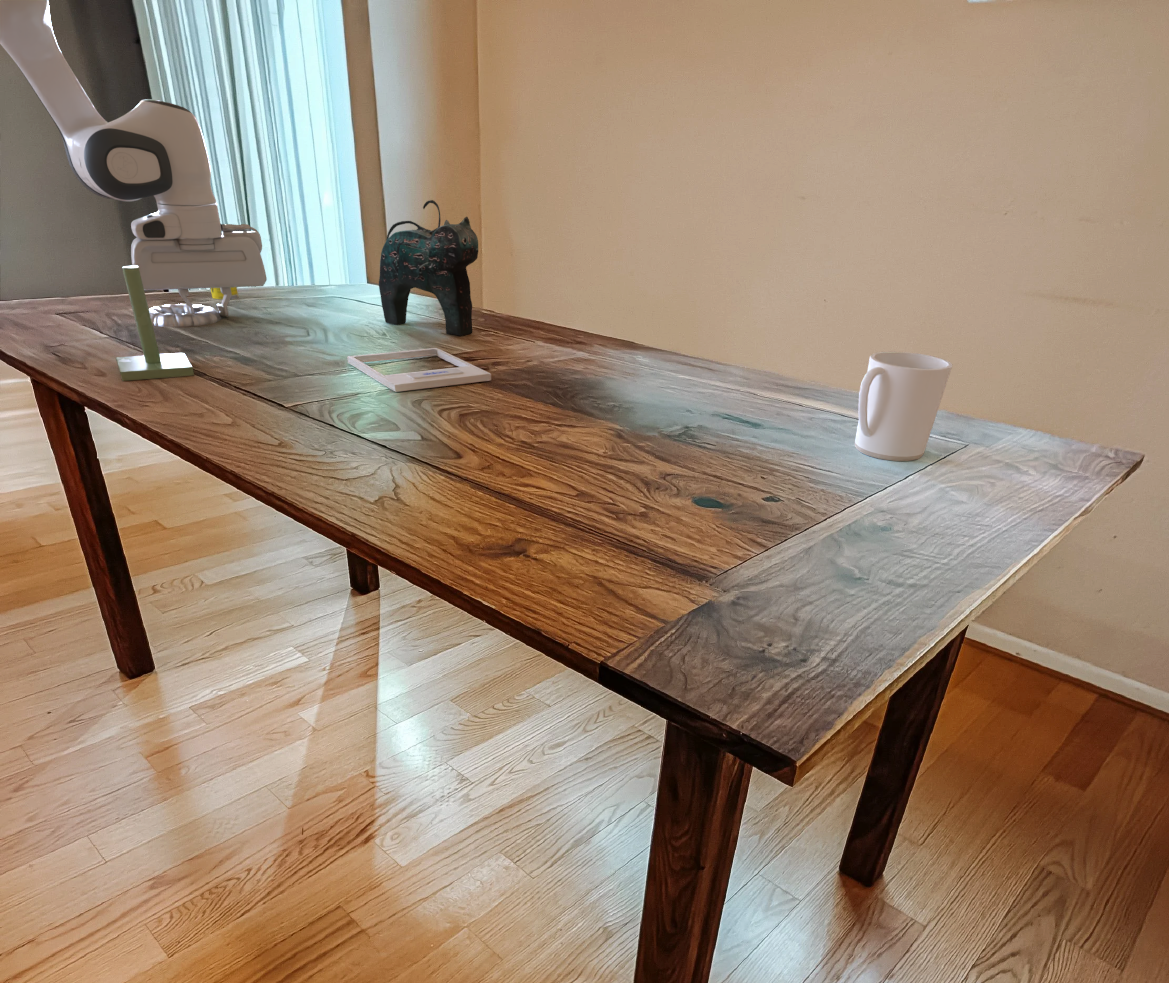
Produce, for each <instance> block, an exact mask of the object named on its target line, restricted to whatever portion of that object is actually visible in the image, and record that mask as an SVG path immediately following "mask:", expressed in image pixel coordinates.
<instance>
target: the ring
mask: <svg viewBox="0 0 1169 983" xmlns="http://www.w3.org/2000/svg"><path fill="white" fill-rule="evenodd" d="M197 305H198V306H199V307H200V312H198V313H192V314H190V309H189V306H188V305H187V304H186V303H180V304H179V303H178V304H164V305H157V306H153V307H150V308H149V312H150V316H151V321H152V325H153V327H160V328H161V327H163V328H186V327H187V328H188V327H200V326H206V325H211V324H216V323H217V322H219V321H221V320H222V317H220V315H219V313H218V310H217V309H215V308H214V307H211V306H207V305H204V304H203V305H202V304H197Z"/></svg>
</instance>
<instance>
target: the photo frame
mask: <svg viewBox="0 0 1169 983" xmlns="http://www.w3.org/2000/svg"><path fill="white" fill-rule="evenodd" d="M431 356H436V357H438V358H440V359H442V360H444V361H446V362H448V363H450V364H452V365H454V366H456V367H448V368H447V367H446V368H439V369H437V368H436V369H429V370H420V371H411V372H402V373H393V374H383V373H381V372H379V371H378V370H376V369H374V368H372V367H371V366H369V365H367V364H366V363H371V362H383V361H392V360H393V361H394V360H401V359H412V358H422V357H431ZM346 358H347V359H346V360H347V364H349V365H351V366H353V367H354V368H355V369H357V370H359V371H360V372H362V373H364V375H367V376H368V377H371V378H372V379H374V380H375V381H376V382H379V383H380V384H382V385H383V386H385V387H387V388H388V389H390V390H391V391H393V392H394V393H398V392H406V391H414V390H422V389H430V388H439V387H446V386H447V387H448V386H456V385H465V384H471V383H472V384H473V383H479V382H490V381H492V373H490V372H488V371H486V370H484V369H482V368H480V367H479V366H476V365H474V364H472V363H470V362H468V361H466V360H463V359H461V358H459V357H457V356H455V355H453V354H450V353H448V352H446V351H445V350H443V349H441V348H438V347H430V348H419V349H410V350H409V349H408V350H400V351H399V350H398V351H389V352H388V351H387V352H378V353H368V354H358V355H348V356H347V357H346Z"/></svg>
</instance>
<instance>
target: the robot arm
mask: <svg viewBox="0 0 1169 983" xmlns="http://www.w3.org/2000/svg"><path fill="white" fill-rule="evenodd" d="M49 4H50V2H49V0H0V46H1V47H2V48H3V49H4V51H5V52H6V53H7V54H8V56H10V58H11V59H12V60H13V62H14V63H15V64H16V66H17V67H18V69H19V71H20V72H21V73H22V75H23V76H24V78H25V80H26V81H27V83H28V84H29V86H30V87H31V89H32V90H33V92H34V93H35V94H36V96H37V98H38V100H39V101H40V103H41V104H42V106H43V107H44V109H45V110H46V111H47V113H48V115H49V117H50V118H51V120H52V121H53V123H54V124H55V126H56V128H57V129H58V132H59V134H60V137H61V140H62V143H63V147H64V151H65V156H66V158H67V161H68V165H69V167H70V170H71V171H72V173H73V175H74V177H76V179H77V180H78V182H79V183H80V184H81V185H82V186H83V187H84V188H86V190H88V191H89V192H91V193H92V194H94V195H96V196H98V197H101V198H104V199H106V200H107V199H108V200H116V201H121V202H135V201H139V200H141V199H144V198H149V197H154V199H155V201H156V206H157V211H156V212H153V213H150V214H147V215H144V216H142V217H138V218H136V219H134V220H132V221H131V223H130V226H131V227H130V229H131V232H132V234H133V235H134V237H135V238H134V239H133V240H132V242H131V246H130V255H131V256H130V258H131V266H138V267H139V271H140V275H141V279H142V283H143V287H144V291H168V290H177V291H178V295H179V296H180V297H181V299H182V300H183V301H184V302H185V304H187V305H188V306H189V309H190V314H192V313H198V312H200V307H199V306H198V305H199V304H193V303H192V302H191V301H190V299H189V298H188V297H190V291H189V290H194V289H197V290H198V289H210V288H220V289H221V293H222V294H224V297H223V299H221V303H216V310H217V312H218V313H219V315H220V317H221V318H226V317H227V318H228V317H229V316H230V315H229V311H228V306H229V303H230V300H231V299H230V298H231V295H232V293H231V288H230V287H237V288H249V287H251V288H253V287H264V286H265V285H266V283H267V280H268V278H267V273H266V268H265V264H264V262H263V257H262V255H261V252H263V251H262V250H263V242H262V241H263V240H262V236H261V233H260V232H259V231H258V230H257V229H256V228H255V227H253V226H250V225H249V224H248V223H241V224H235V223H221V219H220V214H219V213H220V212H219V208H218V203H217V199H216V197H215V195H214V192H213V189H212V184H211V179H212V170H211V165H210V164H211V163H210V161H209V160H210V159H209V155H208V150H207V147H206V142H205V138H204V135H203V132H202V128H201V126H200V124H199V121H198V119H197V117H196V116H195V115H194V114H193V113H192V112H191V111H190V110H189V109H188V108H186V107H185V106H181V105H178V104H174V103H171V102H167V101H163V100H157V99H151V98H147V99H146V98H145V99H141V100H140V101H139V103H138V104H137V105H136V106H135V107H134V108H133V109H131V110H129V111H128V112H127V113H125V114H123V115H122V116H120V117H118V118H116V119H114V120H111V121H109V122H108V121H107V120H106V119H104V117H103V116H102V115H101V114H100V113H99V112H98V110H97V108H96V106H94V104H93V102H92V101H91V99H90V98H89V96H88V94H87V92H86V91H85V89H84V88H83V86H82V85H81V83H80V81H79V79H78V78H77V76H76V74H75V73H74V72H73V71H74V70H72V68H71V67H70V65H69V63H68V62H67V60H66V58H65V57H64V55H63V53H62V51H61V49H60V47H59V45H58V42H57V39H56V36H55V34H54V30H53V26H52V20H51V13H50V5H49Z"/></svg>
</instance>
